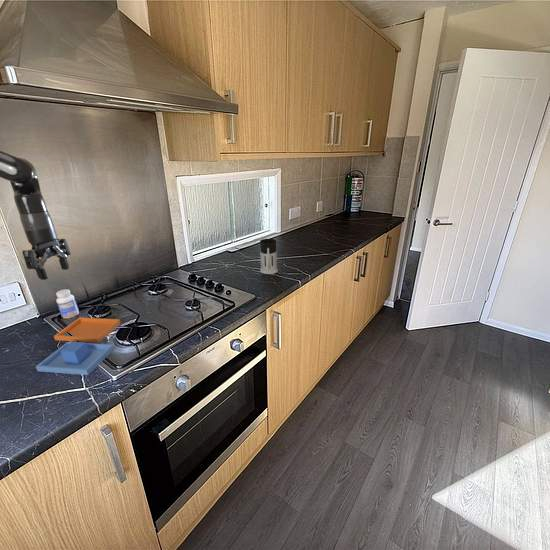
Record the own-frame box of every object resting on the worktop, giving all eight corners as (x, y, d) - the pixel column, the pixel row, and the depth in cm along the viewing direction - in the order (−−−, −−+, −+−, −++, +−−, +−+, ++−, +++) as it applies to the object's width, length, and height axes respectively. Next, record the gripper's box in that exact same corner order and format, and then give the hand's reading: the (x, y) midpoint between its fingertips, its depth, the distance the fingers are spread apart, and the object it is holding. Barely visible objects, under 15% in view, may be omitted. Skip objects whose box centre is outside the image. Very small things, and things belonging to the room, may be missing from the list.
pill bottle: (66, 312, 110) (58, 289, 106) (82, 310, 110) (74, 287, 107) (59, 320, 105) (50, 295, 101) (75, 318, 106) (67, 294, 102)
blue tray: (37, 372, 80) (35, 366, 79) (69, 346, 90) (67, 341, 89) (88, 376, 78) (86, 370, 77) (114, 349, 88) (113, 344, 87)
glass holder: (277, 266, 146) (277, 237, 140) (278, 278, 133) (278, 246, 127) (260, 267, 146) (258, 238, 140) (259, 279, 133) (257, 247, 127)
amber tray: (55, 341, 93) (53, 336, 92) (81, 321, 103) (79, 317, 102) (98, 343, 91) (97, 338, 90) (120, 324, 101) (119, 319, 100)
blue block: (65, 363, 82) (60, 351, 80) (76, 353, 86) (72, 341, 84) (79, 365, 81) (74, 352, 80) (90, 354, 85) (86, 342, 84)
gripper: (47, 221, 98) (62, 266, 105) (5, 232, 85) (25, 282, 92) (67, 221, 97) (81, 266, 104) (28, 232, 84) (46, 283, 91)
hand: (55, 274), depth 98 cm, fingers open, 8 cm apart
